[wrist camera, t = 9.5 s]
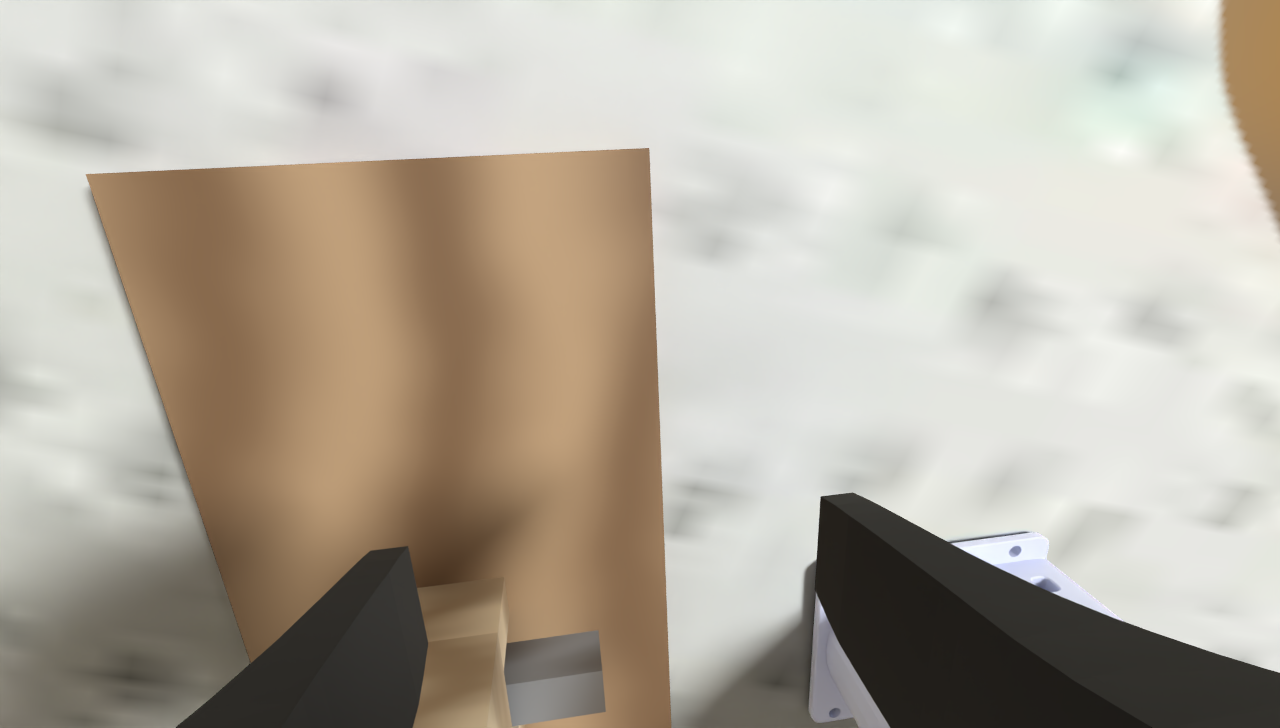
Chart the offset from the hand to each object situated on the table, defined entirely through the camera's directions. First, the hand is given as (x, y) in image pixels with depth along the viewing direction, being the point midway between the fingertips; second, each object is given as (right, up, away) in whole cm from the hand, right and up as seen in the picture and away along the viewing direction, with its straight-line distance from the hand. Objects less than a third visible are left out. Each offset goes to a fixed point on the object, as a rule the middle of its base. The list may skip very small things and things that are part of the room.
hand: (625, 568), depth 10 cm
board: (-6, -2, +10) cm, 12 cm away
